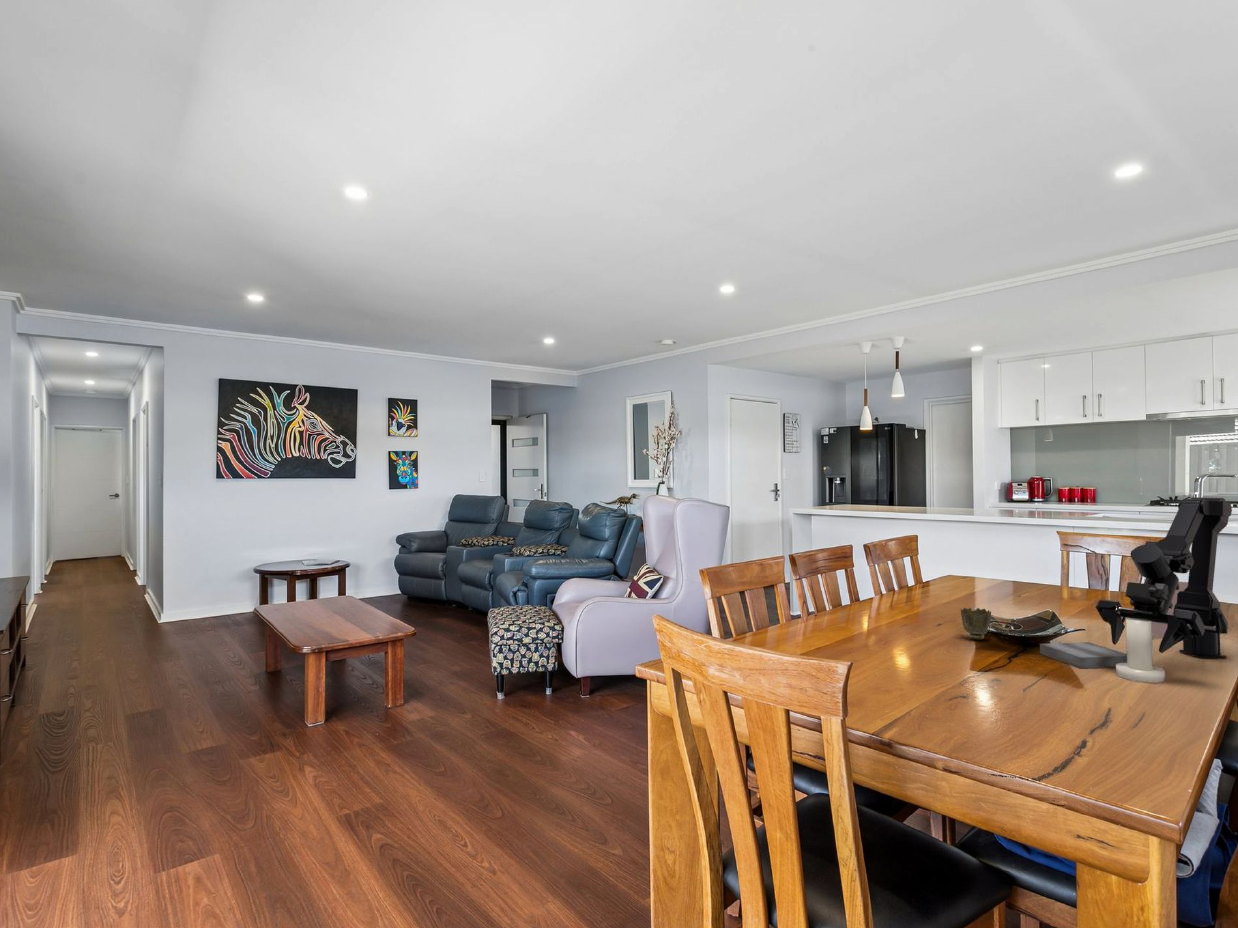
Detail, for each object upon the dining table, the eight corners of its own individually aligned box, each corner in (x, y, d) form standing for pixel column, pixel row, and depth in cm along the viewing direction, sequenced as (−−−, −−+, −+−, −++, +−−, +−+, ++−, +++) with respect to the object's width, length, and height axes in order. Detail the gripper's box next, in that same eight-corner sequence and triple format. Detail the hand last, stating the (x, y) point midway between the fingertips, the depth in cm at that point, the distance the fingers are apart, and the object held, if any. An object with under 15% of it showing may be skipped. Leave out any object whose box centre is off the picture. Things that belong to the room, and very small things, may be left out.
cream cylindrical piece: (1143, 671, 151) (1142, 615, 151) (1175, 682, 143) (1173, 623, 143) (1106, 671, 151) (1105, 616, 151) (1136, 683, 142) (1135, 624, 143)
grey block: (1088, 651, 168) (1088, 641, 168) (1133, 666, 155) (1132, 655, 155) (1040, 653, 167) (1040, 643, 167) (1081, 668, 154) (1080, 657, 154)
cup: (962, 641, 180) (961, 611, 180) (959, 635, 187) (959, 606, 187) (993, 643, 177) (993, 613, 178) (989, 637, 184) (989, 608, 184)
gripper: (1098, 564, 157) (1075, 617, 151) (1197, 573, 141) (1176, 632, 135) (1115, 594, 161) (1093, 647, 155) (1213, 607, 145) (1194, 665, 139)
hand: (1136, 647), depth 146 cm, fingers open, 8 cm apart
